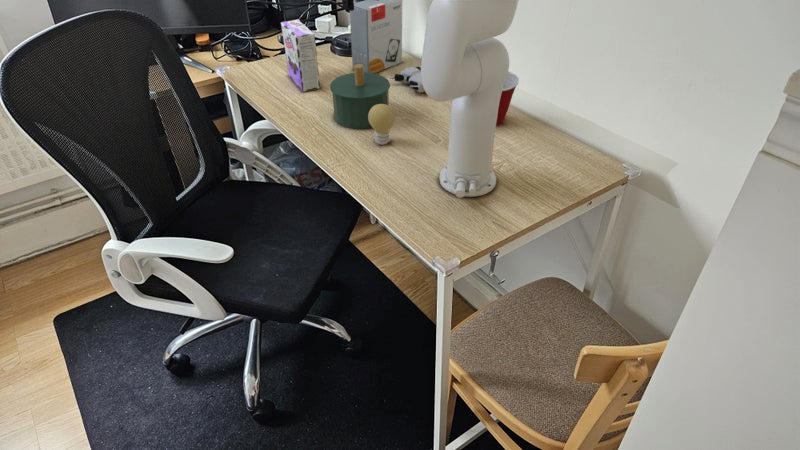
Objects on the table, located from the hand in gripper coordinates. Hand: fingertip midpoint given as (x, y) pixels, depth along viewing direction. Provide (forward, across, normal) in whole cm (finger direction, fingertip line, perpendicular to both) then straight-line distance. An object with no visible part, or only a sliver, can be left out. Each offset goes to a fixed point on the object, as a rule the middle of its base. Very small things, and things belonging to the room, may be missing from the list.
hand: (361, 4), depth 126 cm
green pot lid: (+19, -4, -2) cm, 20 cm away
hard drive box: (+28, +25, +16) cm, 41 cm away
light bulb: (+28, -12, -15) cm, 34 cm away
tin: (+28, -4, -2) cm, 28 cm away
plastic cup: (+28, +14, -32) cm, 44 cm away
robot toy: (+28, +20, -3) cm, 35 cm away
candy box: (+28, +2, +27) cm, 39 cm away
